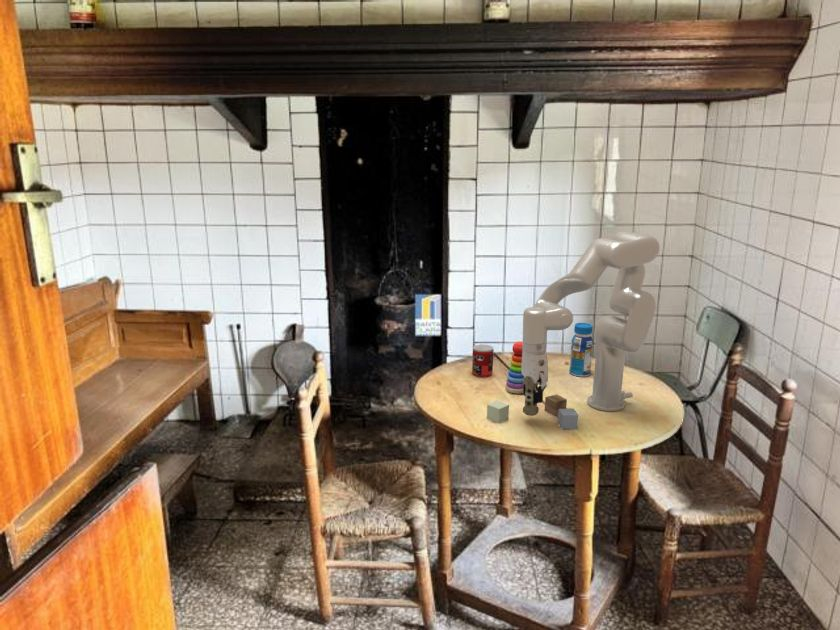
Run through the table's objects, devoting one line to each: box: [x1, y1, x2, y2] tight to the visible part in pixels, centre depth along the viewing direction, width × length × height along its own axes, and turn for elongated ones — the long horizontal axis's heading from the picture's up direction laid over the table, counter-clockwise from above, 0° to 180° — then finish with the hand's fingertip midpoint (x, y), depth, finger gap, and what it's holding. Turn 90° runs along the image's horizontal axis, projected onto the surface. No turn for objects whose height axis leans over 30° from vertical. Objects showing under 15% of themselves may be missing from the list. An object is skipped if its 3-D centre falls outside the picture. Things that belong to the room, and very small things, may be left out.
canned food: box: [471, 344, 494, 378], centre depth 248 cm, size 8×8×11 cm
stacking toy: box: [504, 341, 524, 395], centre depth 231 cm, size 8×8×19 cm
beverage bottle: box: [568, 322, 594, 378], centre depth 248 cm, size 8×8×20 cm
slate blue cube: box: [557, 408, 579, 430], centre depth 204 cm, size 5×5×5 cm
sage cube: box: [486, 400, 510, 424], centre depth 209 cm, size 5×5×5 cm
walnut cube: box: [544, 394, 568, 416], centre depth 215 cm, size 5×5×5 cm
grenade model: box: [522, 373, 541, 417], centre depth 205 cm, size 6×7×15 cm
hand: (532, 398), depth 207 cm, fingers closed on grenade model, 5 cm apart
